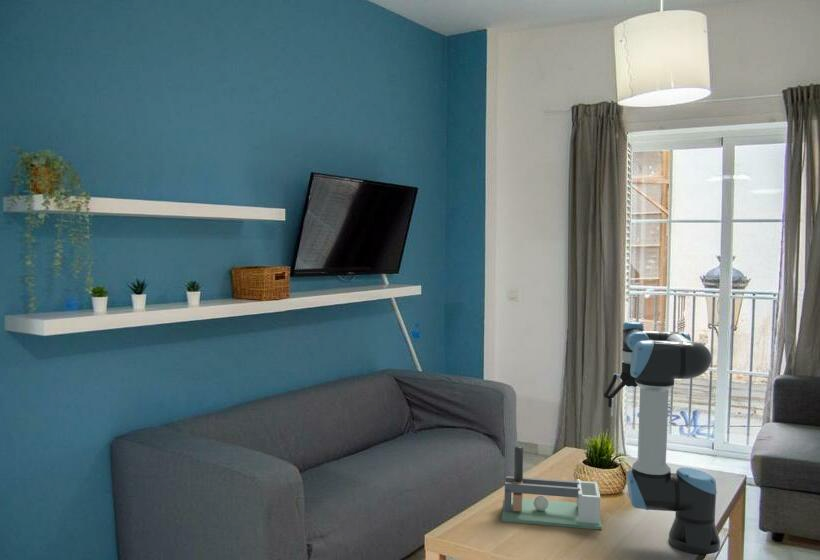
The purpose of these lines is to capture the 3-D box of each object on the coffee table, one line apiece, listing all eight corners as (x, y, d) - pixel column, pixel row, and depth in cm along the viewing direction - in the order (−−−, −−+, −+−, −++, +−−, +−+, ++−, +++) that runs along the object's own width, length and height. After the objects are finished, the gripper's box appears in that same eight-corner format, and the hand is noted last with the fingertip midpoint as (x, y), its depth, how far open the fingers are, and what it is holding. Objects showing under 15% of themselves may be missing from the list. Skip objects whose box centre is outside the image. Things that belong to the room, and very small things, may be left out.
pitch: (601, 529, 236) (602, 497, 235) (501, 521, 242) (502, 489, 241) (597, 507, 255) (598, 477, 255) (505, 499, 261) (505, 470, 261)
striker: (521, 511, 245) (522, 451, 244) (512, 510, 246) (514, 451, 244) (522, 500, 255) (523, 443, 254) (514, 500, 256) (515, 442, 254)
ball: (548, 513, 246) (548, 499, 246) (533, 512, 247) (533, 498, 247) (548, 508, 251) (548, 494, 251) (533, 507, 252) (533, 493, 252)
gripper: (664, 361, 273) (663, 416, 275) (597, 359, 278) (596, 412, 279) (667, 365, 266) (665, 421, 267) (599, 362, 271) (597, 417, 272)
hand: (630, 416), depth 273 cm, fingers open, 13 cm apart
